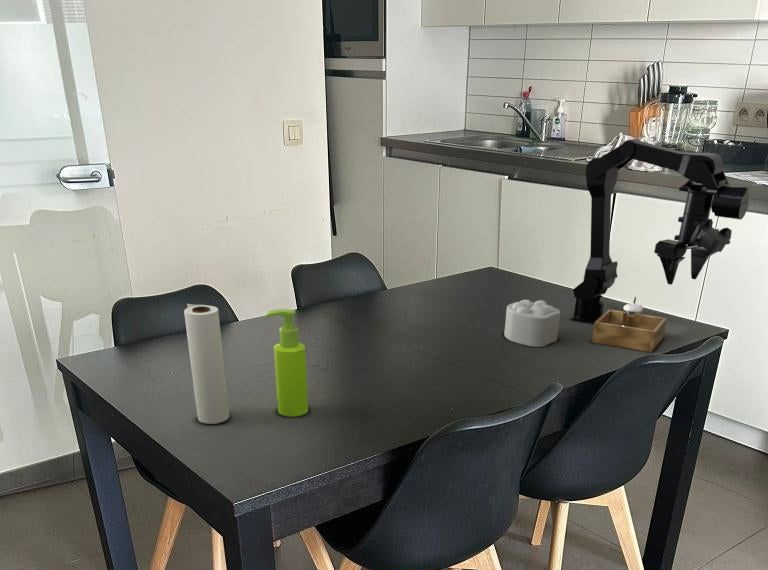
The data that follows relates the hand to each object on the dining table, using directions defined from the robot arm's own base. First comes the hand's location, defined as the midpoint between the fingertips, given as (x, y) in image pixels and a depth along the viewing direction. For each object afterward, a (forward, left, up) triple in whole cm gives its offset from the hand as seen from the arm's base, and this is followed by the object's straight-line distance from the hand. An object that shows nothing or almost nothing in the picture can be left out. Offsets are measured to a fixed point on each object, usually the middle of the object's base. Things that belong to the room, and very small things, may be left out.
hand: (681, 281), depth 186 cm
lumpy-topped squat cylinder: (-31, -19, -14) cm, 39 cm away
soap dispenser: (-56, -86, -14) cm, 103 cm away
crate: (-9, -8, -14) cm, 18 cm away
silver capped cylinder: (-9, -8, -14) cm, 18 cm away
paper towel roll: (-67, -96, -14) cm, 117 cm away
